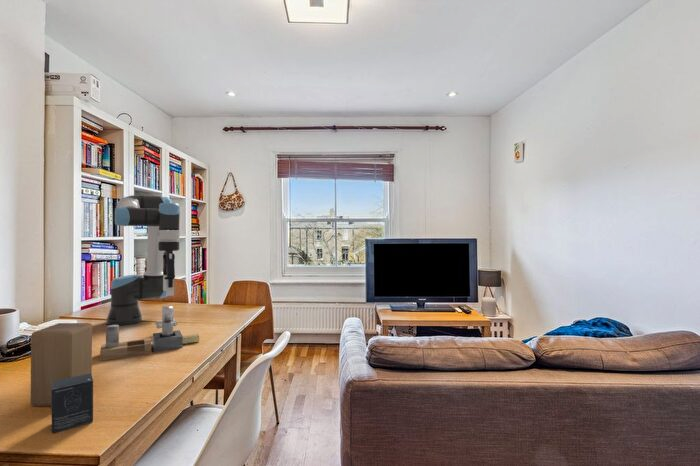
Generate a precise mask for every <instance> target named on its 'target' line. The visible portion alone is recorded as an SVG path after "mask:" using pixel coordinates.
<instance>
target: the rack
mask: <svg viewBox="0 0 700 466" xmlns="http://www.w3.org/2000/svg"><path fill="white" fill-rule="evenodd" d="M147 354H152V340H151V338H142V339H135V340H128V341H120V325H107V326H105V344H101V346H100V350H99V361H100V362H102V361H108V360H115V359H120V358H126V357H127V358H128V357H136V356H142V355H147Z"/></svg>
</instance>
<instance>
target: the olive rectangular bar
mask: <svg viewBox="0 0 700 466" xmlns="http://www.w3.org/2000/svg"><path fill="white" fill-rule="evenodd" d="M182 336H183V345H185V344H192V343H193V344H194V343H199V342H200V334H199V333H195V334H188V335H182Z"/></svg>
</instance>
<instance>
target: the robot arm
mask: <svg viewBox="0 0 700 466" xmlns="http://www.w3.org/2000/svg"><path fill="white" fill-rule="evenodd" d="M180 214H181V210H180V204H179V203H176V202H172V200H171V198H169V197H167V196H161V195H160V196H156V195H144V194H143V195H141V194H135V195H128V196H124V197H122V198H121V199H119V200H118V201H117V203H116V208H114V224H115V226H122V227H147V240H146V241H147V242H146V243H147V246H146V248H147V249H146V271H145V272H143V276H142V277H140V276H139V275H138V274H129V275H128V274H127V275H122V276H118V277H115V278H113V279H112V280H111V285H110V292H111V293H110V309H109V312H108V314H107V316H106V320H105V321H106V323H105V324H106V325H107V326H110V325H119V326H126V325H133V324H137V323H139V322H141V321H142V320H143V316H142V311H141V309H140V307H139V301H143V300H155V299H165V298H167V297H172V296H173V297H174V296H175V278H176V274H175V273H176V272H175V259H176V257H175V256H176V255H175V253H173V251H174V252H177V251H179V250H180V242H179V241H180Z"/></svg>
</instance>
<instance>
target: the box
mask: <svg viewBox="0 0 700 466" xmlns="http://www.w3.org/2000/svg"><path fill="white" fill-rule="evenodd" d="M92 373H93V372H92ZM92 373H90V374H85V375H80V376H75V377H71V378H66V379H61V380H56V381H53V383H52V406H51V431H50V432H51V433H52V434H55V433H59V432H62V431H64V430H65V431H66V430H68V429H72V428H75V427H80V426H82V425H87V424H89V423H93V422H94V379H93V374H92Z"/></svg>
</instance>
